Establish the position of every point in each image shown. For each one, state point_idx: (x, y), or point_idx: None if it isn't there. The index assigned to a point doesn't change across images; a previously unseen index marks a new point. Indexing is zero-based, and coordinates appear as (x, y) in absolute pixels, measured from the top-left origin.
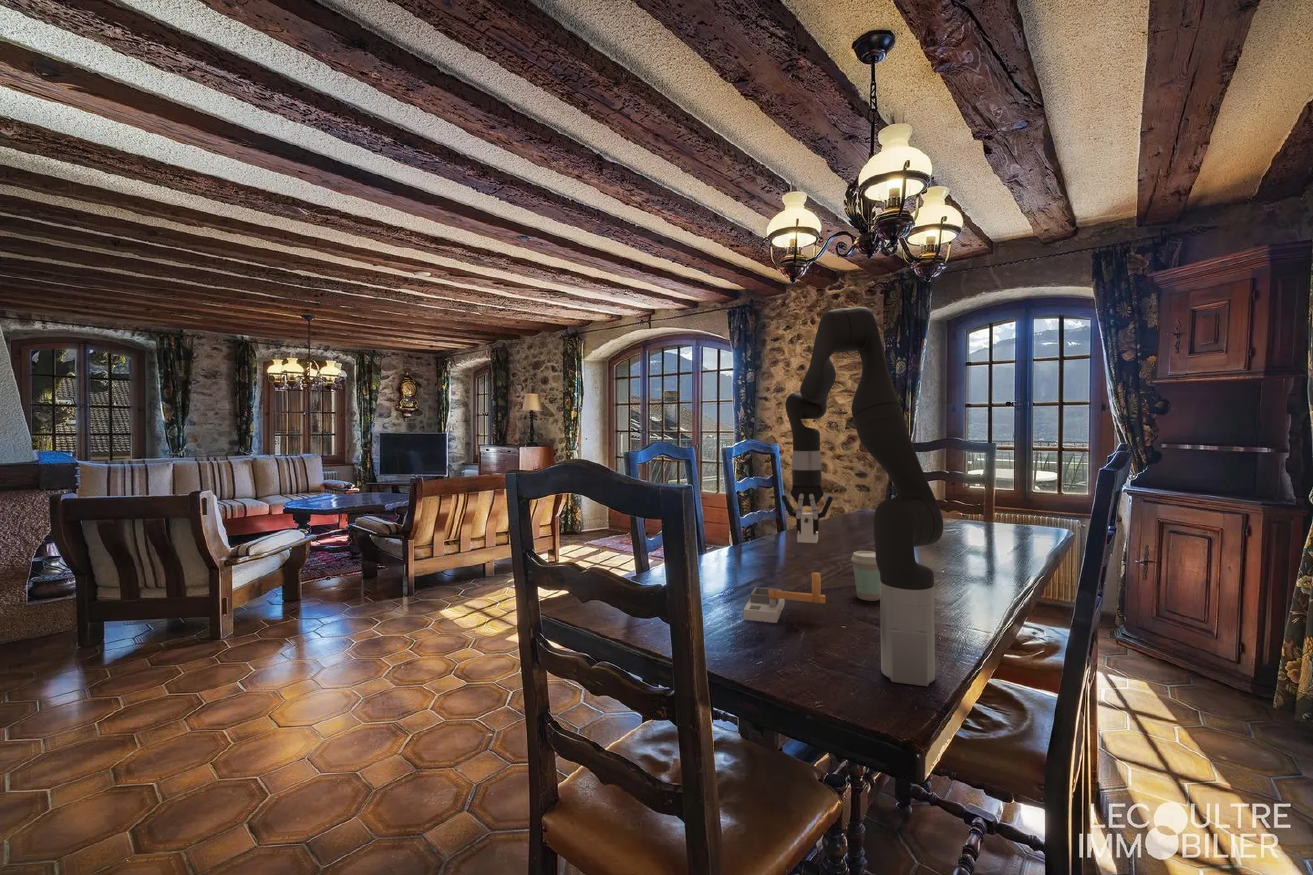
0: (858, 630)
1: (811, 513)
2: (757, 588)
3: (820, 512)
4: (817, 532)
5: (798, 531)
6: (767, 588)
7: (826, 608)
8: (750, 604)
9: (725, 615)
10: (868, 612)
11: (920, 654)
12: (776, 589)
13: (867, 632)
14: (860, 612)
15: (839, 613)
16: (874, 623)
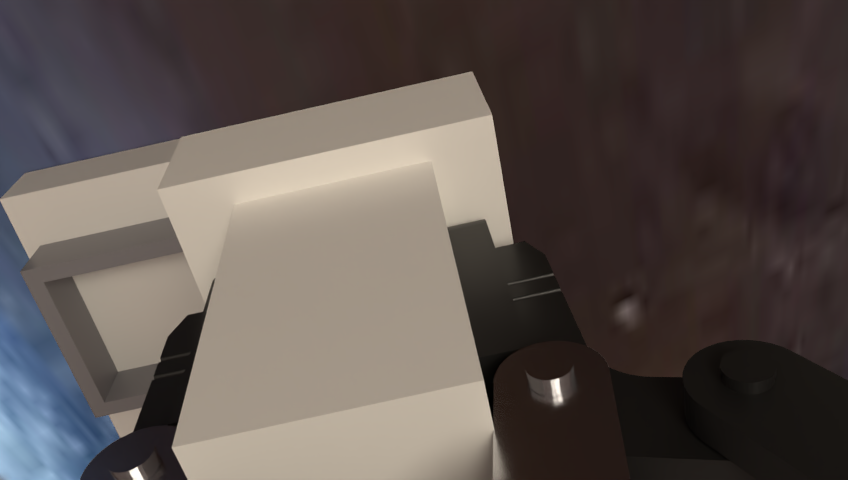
0: (699, 326)
1: (440, 442)
2: (48, 278)
3: (695, 463)
4: (502, 202)
5: (189, 264)
6: (115, 260)
7: (492, 77)
8: (133, 417)
9: (46, 449)
10: (748, 23)
11: None
12: (182, 250)
13: (740, 330)
14: (700, 49)
15: (582, 131)
16: (776, 198)
